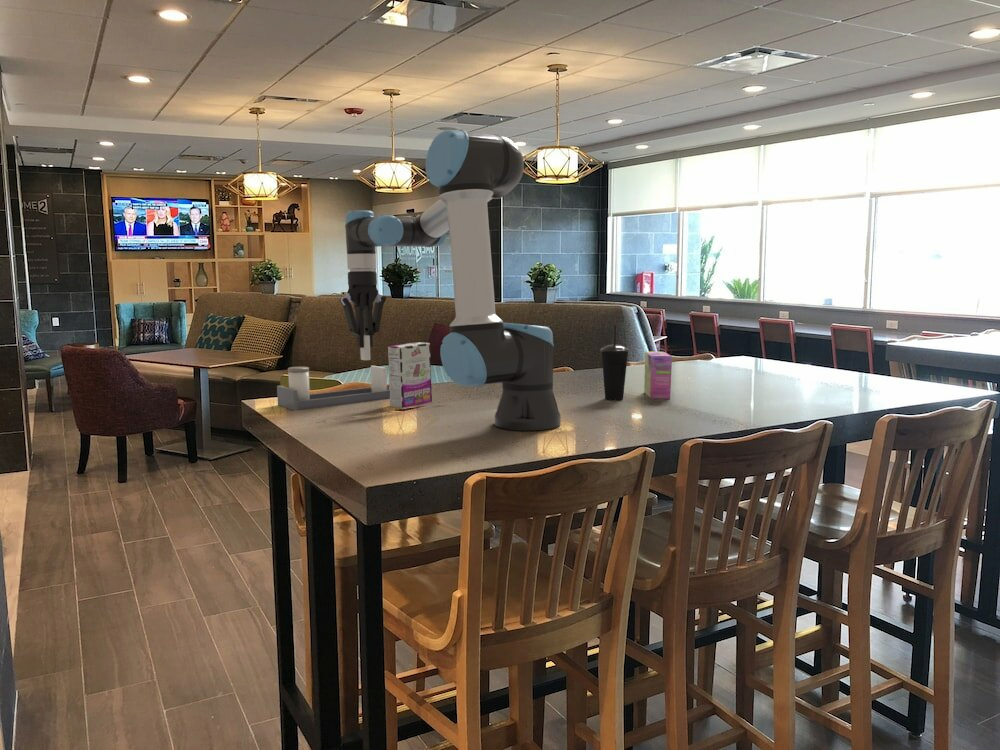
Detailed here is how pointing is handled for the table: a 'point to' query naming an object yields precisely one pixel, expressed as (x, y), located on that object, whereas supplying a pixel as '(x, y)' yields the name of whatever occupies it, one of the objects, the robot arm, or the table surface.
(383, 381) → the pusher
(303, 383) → the jar
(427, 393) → the candy bar box
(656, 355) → the box
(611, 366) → the drinking cup
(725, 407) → the table surface
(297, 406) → the lane
